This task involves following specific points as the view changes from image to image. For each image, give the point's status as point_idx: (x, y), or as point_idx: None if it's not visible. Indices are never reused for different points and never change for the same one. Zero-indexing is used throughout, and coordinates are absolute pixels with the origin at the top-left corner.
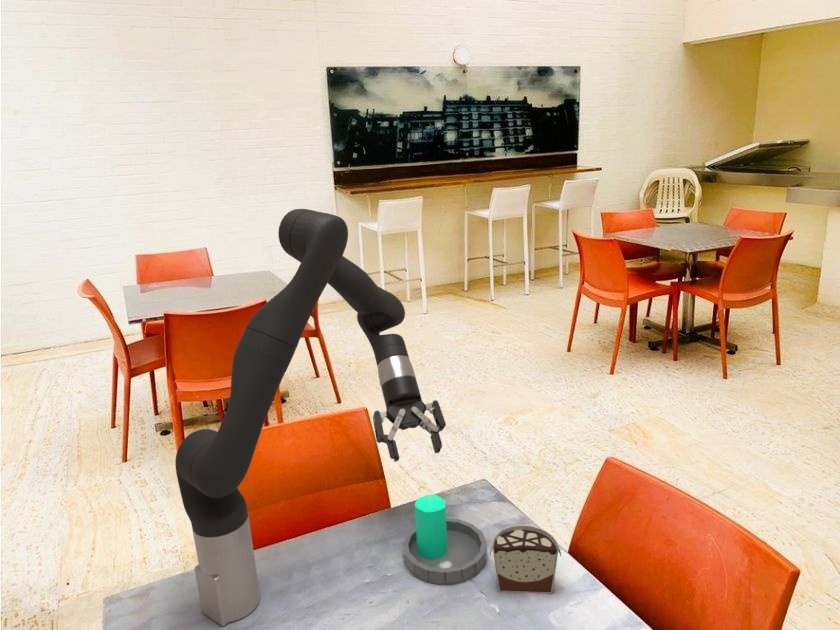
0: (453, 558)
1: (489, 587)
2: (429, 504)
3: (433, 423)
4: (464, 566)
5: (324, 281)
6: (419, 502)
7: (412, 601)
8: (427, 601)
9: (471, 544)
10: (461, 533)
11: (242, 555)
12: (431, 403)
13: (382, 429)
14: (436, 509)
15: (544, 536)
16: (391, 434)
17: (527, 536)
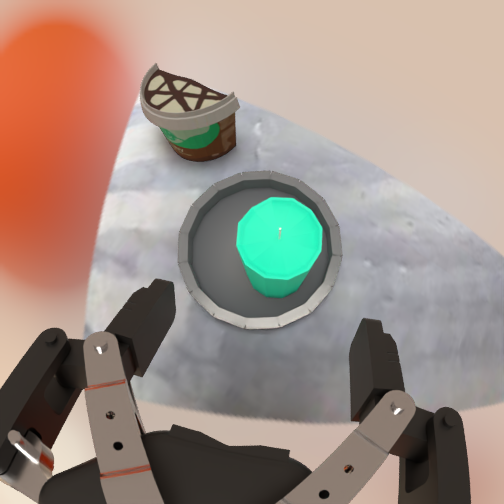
0: None
1: (241, 157)
2: (279, 242)
3: (86, 370)
4: (263, 174)
5: None
6: (298, 265)
7: (357, 191)
8: (337, 180)
9: (206, 241)
10: (202, 279)
11: None
12: (5, 476)
13: (438, 457)
14: (274, 214)
15: (146, 91)
16: (391, 419)
17: (165, 99)
